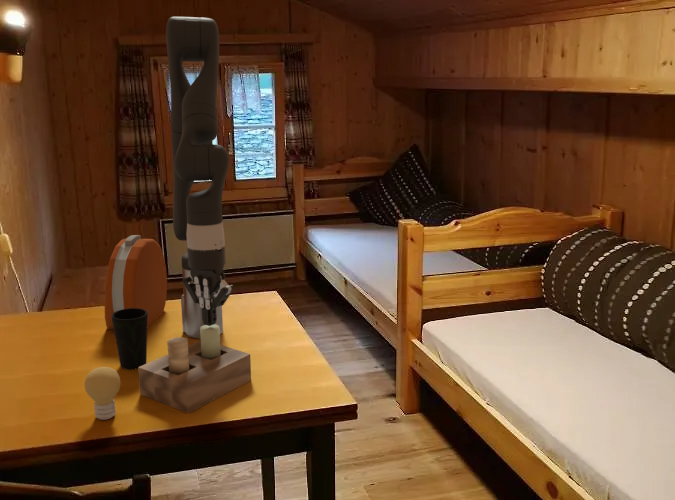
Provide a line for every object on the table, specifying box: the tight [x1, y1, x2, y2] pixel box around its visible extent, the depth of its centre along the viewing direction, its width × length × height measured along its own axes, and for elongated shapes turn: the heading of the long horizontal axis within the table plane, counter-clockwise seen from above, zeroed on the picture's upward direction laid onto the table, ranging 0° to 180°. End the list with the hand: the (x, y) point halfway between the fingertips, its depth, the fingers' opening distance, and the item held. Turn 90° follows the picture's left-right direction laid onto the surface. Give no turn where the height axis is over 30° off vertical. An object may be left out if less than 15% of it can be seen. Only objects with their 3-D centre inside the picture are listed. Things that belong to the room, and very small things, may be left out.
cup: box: [111, 308, 148, 370], centre depth 157 cm, size 8×8×12 cm
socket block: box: [137, 339, 252, 414], centre depth 146 cm, size 14×18×6 cm
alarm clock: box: [104, 234, 168, 330], centre depth 183 cm, size 22×10×23 cm, turn 172°
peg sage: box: [200, 324, 221, 360], centre depth 149 cm, size 4×4×7 cm
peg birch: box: [166, 336, 189, 375], centre depth 142 cm, size 4×4×7 cm
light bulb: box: [84, 366, 121, 421], centre depth 134 cm, size 6×6×10 cm
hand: (209, 324), depth 148 cm, fingers closed
